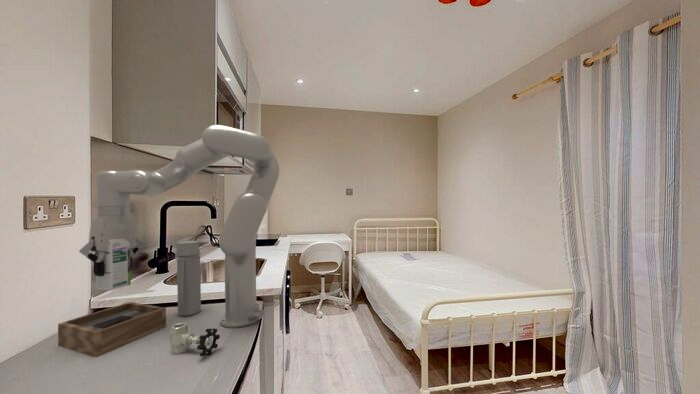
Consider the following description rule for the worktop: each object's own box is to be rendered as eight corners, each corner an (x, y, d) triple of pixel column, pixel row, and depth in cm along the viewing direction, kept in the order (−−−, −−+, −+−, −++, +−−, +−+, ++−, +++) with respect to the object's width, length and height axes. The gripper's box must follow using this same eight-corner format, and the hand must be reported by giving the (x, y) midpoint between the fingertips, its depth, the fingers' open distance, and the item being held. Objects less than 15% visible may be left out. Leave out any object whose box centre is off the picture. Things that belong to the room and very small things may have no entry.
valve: (161, 356, 70) (200, 362, 67) (161, 330, 70) (199, 334, 67) (184, 343, 76) (220, 348, 73) (183, 319, 77) (219, 323, 73)
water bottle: (182, 309, 102) (181, 241, 102) (205, 308, 103) (204, 240, 103) (169, 320, 93) (168, 244, 93) (194, 318, 94) (193, 243, 94)
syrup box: (111, 290, 79) (111, 239, 80) (95, 289, 80) (95, 239, 81) (131, 285, 85) (131, 237, 85) (115, 284, 86) (115, 237, 86)
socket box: (166, 327, 87) (165, 307, 87) (95, 357, 71) (95, 333, 71) (130, 319, 94) (129, 301, 94) (58, 345, 77) (58, 323, 78)
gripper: (137, 211, 93) (137, 265, 92) (69, 213, 77) (68, 279, 76) (152, 211, 90) (152, 267, 89) (84, 213, 74) (84, 281, 73)
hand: (113, 272), depth 83 cm, fingers closed on syrup box, 6 cm apart
